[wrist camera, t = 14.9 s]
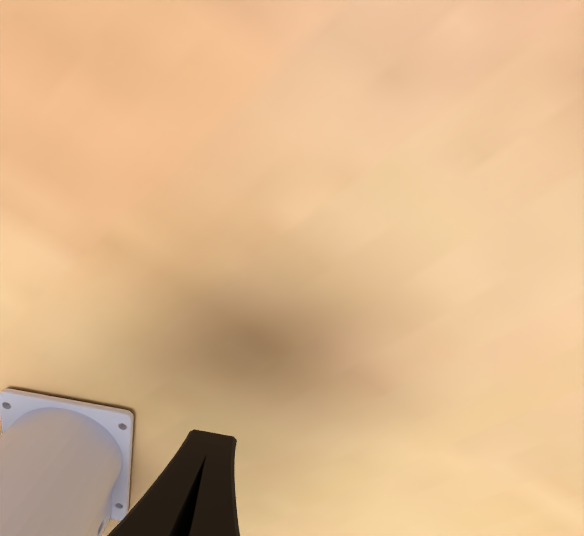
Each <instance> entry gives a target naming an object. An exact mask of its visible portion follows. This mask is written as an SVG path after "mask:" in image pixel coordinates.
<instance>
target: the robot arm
mask: <svg viewBox="0 0 584 536" xmlns="http://www.w3.org/2000/svg"><path fill="white" fill-rule="evenodd" d="M0 419H1V429H2V435H1V436H0V536H102V534H103V532H104V530H105V528H106V526H107V524H108V522H109V520H110V519H113V520H122V521H121V522H120V523H119V524H118V525H117V526H116V527H115V528H114V529H113V530H112V531H111V533H110V534H109V535H108V536H240V533H239V526H238V518H237V508H236V497H235V481H234V459H235V447H236V442H237V440H236V439H235V438H234V437H232V436H227V435H221V434H216V433H210V432H205V431H199V430H192V431H190V432H189V434H188V436H187V438H186V439H185V441H184V442H183V444H182V445H181V447H180V449H179V450H178V451H177V453H176V454H175V456H174V457H173V459H172V460H171V461H170V463H169V464H168V465H167V467H166V468H165V469H164V471H163V472H162V473H161V474H160V476H159V477H158V478H157V480H156V481H155V482H154V483H153V485H152V486H151V487H150V488H149V490H148V491H147V492H146V493H145V494H144V496H143V497H142V498H141V499H140V500H139V501H138V503H137V504H136V505H135V506H134V507H133V508H132V509H131V510H130V512H129V513H128V507H129V490H130V473H131V455H132V438H133V420H134V417H133V414H132V413H131V412H130V411H128V410H125V409H119V408H114V407H108V406H103V405H97V404H92V403H86V402H81V401H75V400H70V399H64V398H59V397H53V396H48V395H42V394H37V393H31V392H26V391H20V390H15V389H4V390H3V391H2V392H0ZM122 423H123V424H122ZM124 424H125V425H124Z"/></svg>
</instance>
